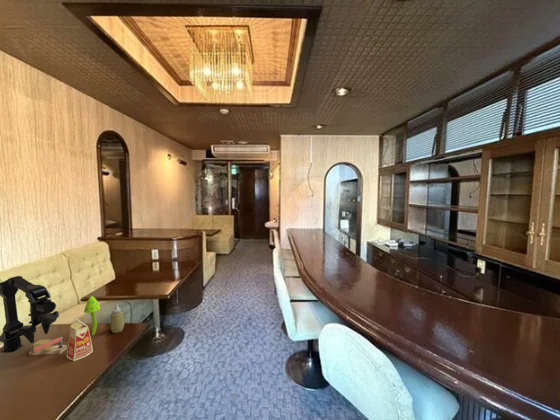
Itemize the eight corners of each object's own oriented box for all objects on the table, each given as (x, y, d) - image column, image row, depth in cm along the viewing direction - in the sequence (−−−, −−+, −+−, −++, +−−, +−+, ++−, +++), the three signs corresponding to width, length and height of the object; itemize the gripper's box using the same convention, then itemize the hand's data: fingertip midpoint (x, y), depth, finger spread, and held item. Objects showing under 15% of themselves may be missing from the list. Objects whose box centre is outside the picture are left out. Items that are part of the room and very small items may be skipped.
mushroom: (81, 337, 162) (79, 298, 161) (92, 330, 170) (90, 293, 169) (95, 338, 162) (93, 298, 160) (104, 331, 170) (102, 293, 169)
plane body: (28, 355, 145) (28, 344, 144) (36, 350, 150) (35, 339, 149) (60, 353, 146) (59, 342, 146) (67, 348, 151) (66, 337, 151)
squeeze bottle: (127, 328, 174) (126, 301, 173) (118, 334, 166) (117, 306, 165) (116, 327, 175) (115, 301, 174) (107, 333, 167) (105, 306, 166)
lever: (35, 352, 137) (35, 349, 137) (33, 351, 137) (32, 348, 137) (63, 339, 149) (63, 337, 149) (61, 339, 149) (61, 336, 149)
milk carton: (66, 357, 143) (64, 321, 142) (85, 348, 151) (83, 314, 150) (75, 362, 139) (73, 325, 137) (94, 352, 147) (92, 317, 146)
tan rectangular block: (33, 351, 145) (33, 344, 145) (40, 346, 149) (39, 339, 149) (45, 350, 146) (44, 343, 145) (51, 346, 150) (51, 339, 150)
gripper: (39, 317, 133) (41, 347, 134) (66, 302, 151) (67, 328, 152) (15, 318, 132) (17, 348, 133) (45, 303, 150) (47, 329, 151)
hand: (39, 338), depth 142 cm, fingers open, 9 cm apart
